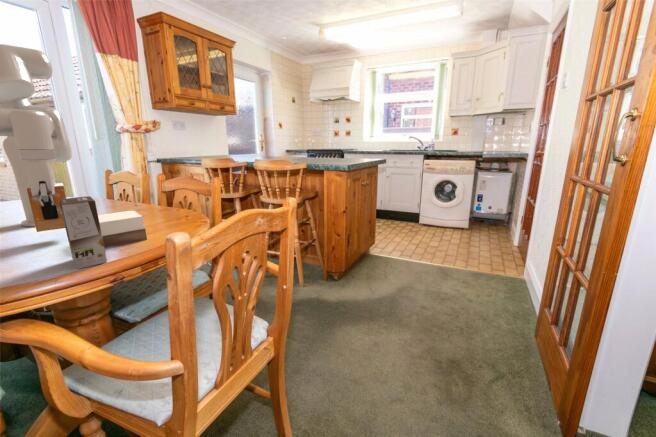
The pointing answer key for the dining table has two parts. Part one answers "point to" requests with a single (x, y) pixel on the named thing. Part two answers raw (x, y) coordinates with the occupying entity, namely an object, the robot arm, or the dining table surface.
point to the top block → (120, 222)
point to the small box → (37, 212)
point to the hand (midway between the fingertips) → (52, 215)
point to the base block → (124, 237)
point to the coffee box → (83, 231)
